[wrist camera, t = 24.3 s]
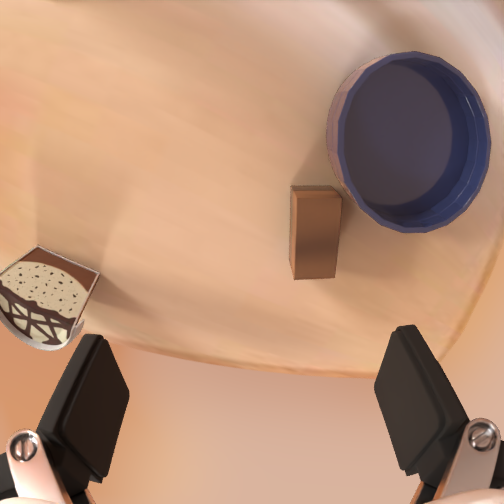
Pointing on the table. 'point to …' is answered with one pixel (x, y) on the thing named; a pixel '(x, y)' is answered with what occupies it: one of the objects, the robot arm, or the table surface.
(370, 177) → the bowl
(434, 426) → the robot arm
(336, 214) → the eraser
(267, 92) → the table surface
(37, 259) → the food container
